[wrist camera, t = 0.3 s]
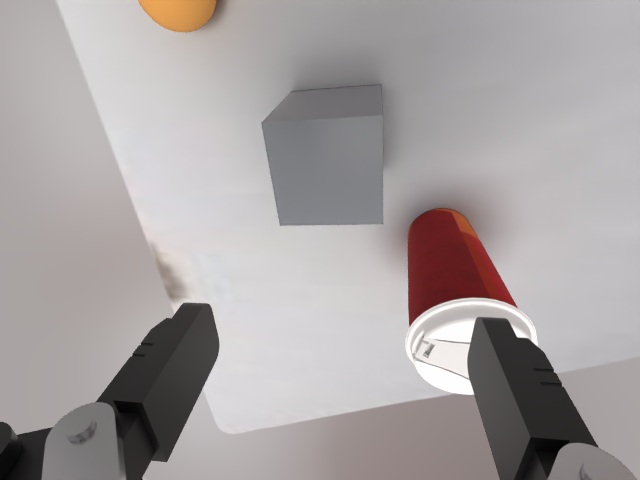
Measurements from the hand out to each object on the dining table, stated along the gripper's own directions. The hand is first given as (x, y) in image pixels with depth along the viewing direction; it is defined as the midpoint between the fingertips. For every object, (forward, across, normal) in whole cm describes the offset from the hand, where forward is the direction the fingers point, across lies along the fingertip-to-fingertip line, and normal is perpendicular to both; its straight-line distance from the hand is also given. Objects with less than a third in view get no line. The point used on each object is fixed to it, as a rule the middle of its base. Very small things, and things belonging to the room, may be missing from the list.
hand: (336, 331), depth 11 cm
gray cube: (+21, +2, -2) cm, 21 cm away
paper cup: (+22, -8, +8) cm, 25 cm away
